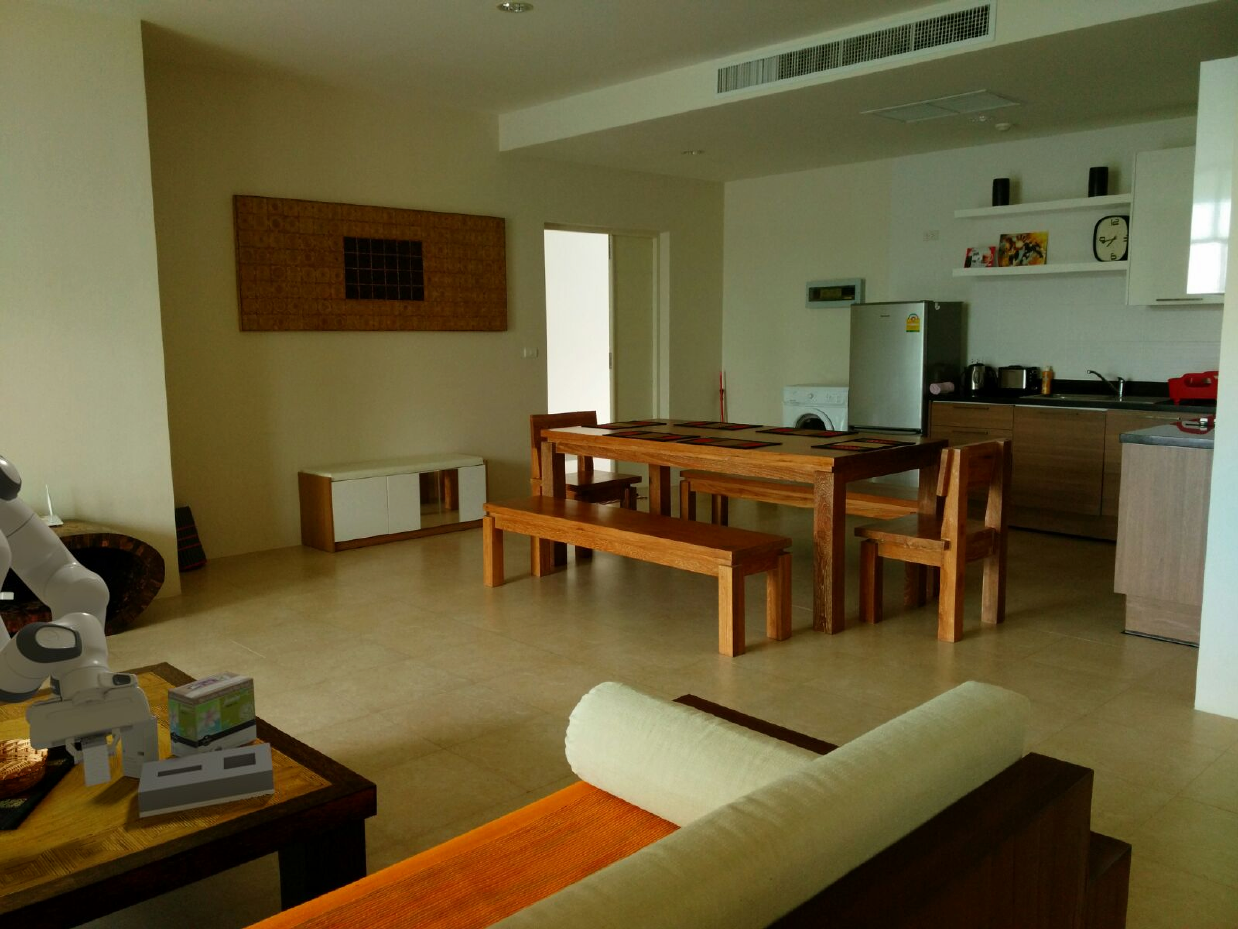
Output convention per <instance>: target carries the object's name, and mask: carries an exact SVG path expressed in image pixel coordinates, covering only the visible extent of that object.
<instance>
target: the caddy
mask: <svg viewBox="0 0 1238 929" xmlns="http://www.w3.org/2000/svg"><path fill="white" fill-rule="evenodd" d="M273 768H274V767H273V762H272V752H271V744H270V742H266V743H260V744H254V745H253V744H252V745H246V746H238V747H236V748H233V749H227V750H221V751H215V752H209V753H202V754H196V755H190V756H184V757H178V756H177V757H173V758H167V759H159V761H153V762H147V763H143V767H142V773H141V778H139V784H138V790H137V798H138V799H137V801H138V809H139V810H138V812H139V818H140V819H142V818H146V817H152V816H153V817H154V816H156V815H157V816H158V815H163V814H169V813H173V812H179V811H185V810H191V809H197V808H202V807H203V808H204V807H208V806H213V805H219V804H225V803H230V801H231V802H236V801H241V799H242V800H247V799H252V798H251V797H253V798H257V797H258V796H259V797H263V795H264V796H266V795H265V794H270V795H275V785H274V783H275V782H274V771H273V770H274V769H273Z"/></svg>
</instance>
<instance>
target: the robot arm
mask: <svg viewBox="0 0 1238 929" xmlns="http://www.w3.org/2000/svg"><path fill="white" fill-rule="evenodd" d="M22 484H23V481H22V478H21V476H20V473H19V471H18V470H17V467H15V465H14V464H13V463H12V462H11V461H9V460H8V459H6V458H5V457H4V456H2V455H0V593H1V591H2V587H3V584H4V581H5V580H6V577H7V574H8V572H9V569H12V571H13V572H14V573H15V574H16V575H17V577H19V578H20V579H21V580H22V582H23V583H24V584H25V585H26V586H27V587H28V589H29V590H31V591H32V593H33V594H35V596H36V597H37V598H38V600H40V601H41V602H42V603H43V604H44V605H45V606H47V607H49V609H50V610H51V618H52V619H51V621H49V622H45V621H43V622H42V621H36V622H35V621H34V622H31V623H28V624H25V625H24V626H23V627H22V628H20V629H19V630H18V632H16V633H15V635H13V637H12V638H11V637H10V634H9V631H8V630H7V627H6V625H5V623H4V620H3V618H2V616H1V615H0V702H1V703H6V704H19V703H25V702H27V701H28V700H31V698H33V697H34V696H35V694H36V693H37V692H38V690H39V689H41V687H42V685H43V684H44V682H45V681H46V680H47V679H48V678H49V687H50V692H51V694H50V696H49V697H48V698H47V699H43V700H42V699H41V700H36V701H33V703H32V704H30V705H28V707H26V708H25V713H24V715H25V721H26V723H27V724H29V744H30V747H31V748H32V749H34V750H35V751H42V750H45V749H52V748H55V747H60V746H65V750H66V751H67V752H68V753H69V754H70V755H71V756H73V760H74V765H77V764H82V763H83V764H84V760H83V751H82V749H81V750H77V749H76V747H75V746H76V745H75V743H81V742H80V741H81V737H86V736H91V735H96V734H100V733H106V737H108V736H111V737H112V741H111V743H109V744H107V749H108V758H109V757H114V756H117V754H118V753H117V746H118V744H119V742H120V741H121V733H122V732H127V731H132V730H137V729H141V728H146V727H148V726H149V724H150V723H151V716H152V713H151V712H152V711H151V708H150V704H149V701H148V698H147V695H146V693H145V691H144V690H143V689H142V688H141V687H140V686H139V684H140V683H139V680H138V676H137V675H136V674H133V673H123V672H122V673H121V672H112V670H111V668H110V667H109V664H108V659H109V649H108V643H107V639H106V634H105V625H106V616H107V606H108V605H109V601H110V592H109V589H108V588H109V587H108V585H107V584H106V582H105V581H104V579H103V578H102V577H101V576H100V575H99V574H98V573H96V572H94V571H91V570H90V569H88V568H86V567H85V566H84V565H82V564H81V563H80V562H79V561H78V560H77V559H76V558H75V557H74V555H73V554H72V553H71V552H70V551H69V549H68V548H67V546H66V545H65V544H64V543H63V541H62V540H61V539H60V537H59V536H58V534H56V532H54V530H52V528H50V525H48V524H47V523H46V522H45V521H44V520H43V519H42V518H41V517H40V516H39V515H38V513H37V512H36V511H35V510H33V508H32V507H30V505H29V504H28V503H26V501H24V500H23V499H22V498H21V497H20V496H19V495H18V494H19V493H20V492H21V488H22Z"/></svg>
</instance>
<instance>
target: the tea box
mask: <svg viewBox="0 0 1238 929" xmlns="http://www.w3.org/2000/svg"><path fill="white" fill-rule="evenodd" d="M254 685H255V684H254V678H253V677H249V676H245V675H243V674H238V673H236V672H232V671H229V670H225V671H222V672H219V673H216V674H214V675H210V676H207V677H204V678H201V679H198V680H195V681H192V682H190V683H186V684H183V685H180V686H178V687H174V688H170V689H168V690H167V705H168V721H169V736H170V739H169V741H170V753H171V755H174V756H176V757H177V758H178V757H184V756H190V755H196V754H202V753H209V752H215V751H221V750H227V749H233V748H239V747H242V746H243V745H246V744H249V743H252V742H254V741H256V740H257V718H256V717H257V716H256V706H255V705H256V700H255V686H254Z"/></svg>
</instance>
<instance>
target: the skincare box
mask: <svg viewBox="0 0 1238 929" xmlns="http://www.w3.org/2000/svg"><path fill="white" fill-rule="evenodd" d="M158 733H159V730H158V716H156V715H151V723H150V724H149V726H148V727H146V728H141V729H137V730H132V731H127V732H122V733H121V738H120V744H121V746H120V748H121V764H122V775H123V776H124V777H130V778H136V779H140V778H141V773H142V767H143V763H147V762H153V761H159V760H160V753H159V752H160V750H159V734H158Z"/></svg>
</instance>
